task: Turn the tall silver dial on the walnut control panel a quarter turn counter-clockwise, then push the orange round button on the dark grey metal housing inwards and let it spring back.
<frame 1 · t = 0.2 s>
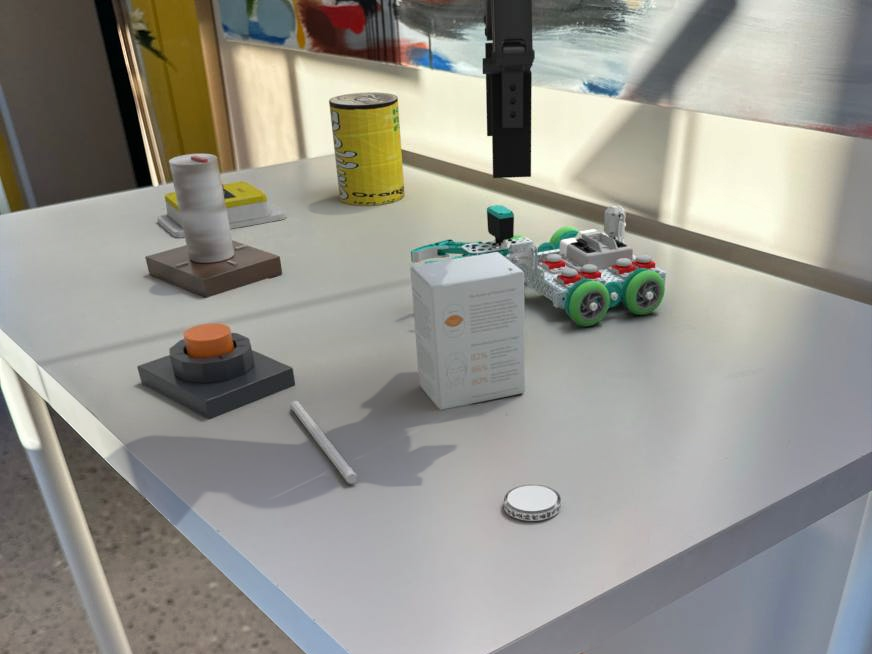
hand: (507, 154, 75), 18 cm above the table, tool pointing down, fingers open, 13 cm apart
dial: (202, 207, 106), point 7 cm above the table, hinge at 0.0°
beverage can: (372, 197, 134), on the table
white flat disc: (532, 508, 69), on the table
dial panel: (215, 274, 110), on the table
button housing: (218, 384, 86), on the table
robot kit: (538, 303, 101), on the table
white rod: (320, 444, 77), on the table
push knob: (209, 341, 84), point 4 cm above the table, slide at 0.1 cm
small box: (471, 392, 84), on the table
yellow box on plate: (222, 221, 127), on the table
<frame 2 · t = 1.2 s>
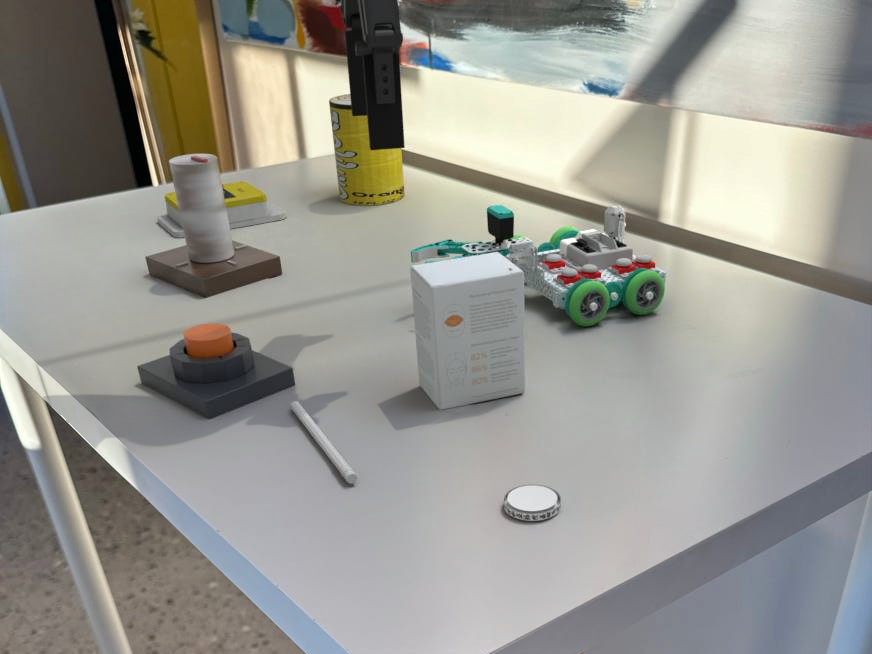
hand: (376, 130, 82), 18 cm above the table, tool pointing down, fingers open, 13 cm apart
nothing on the table moved.
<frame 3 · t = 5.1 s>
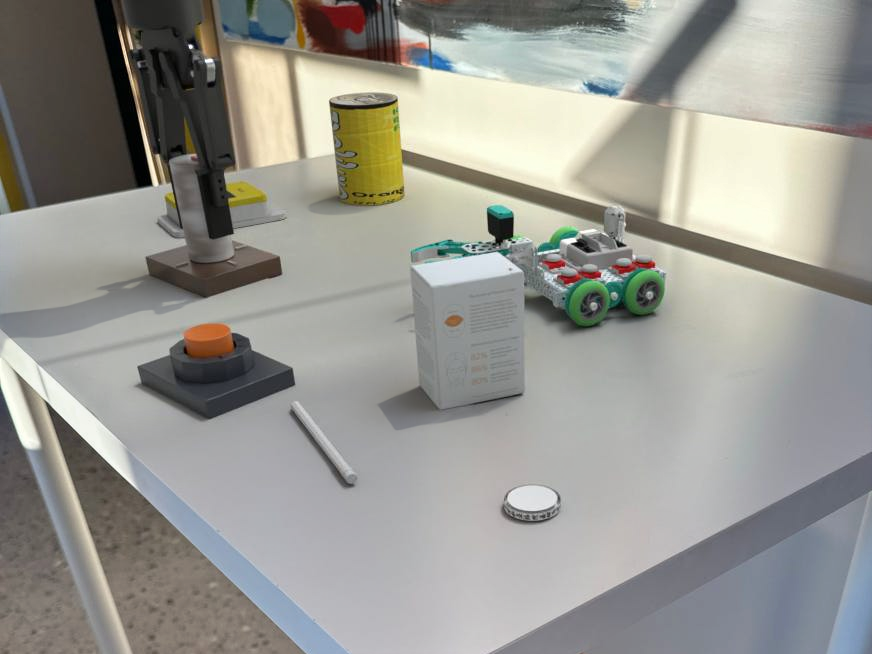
hand: (207, 230, 107), 5 cm above the table, tool pointing down, fingers closed on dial, 5 cm apart
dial: (202, 207, 106), point 7 cm above the table, hinge at -0.1°, touching gripper
everything else where it was.
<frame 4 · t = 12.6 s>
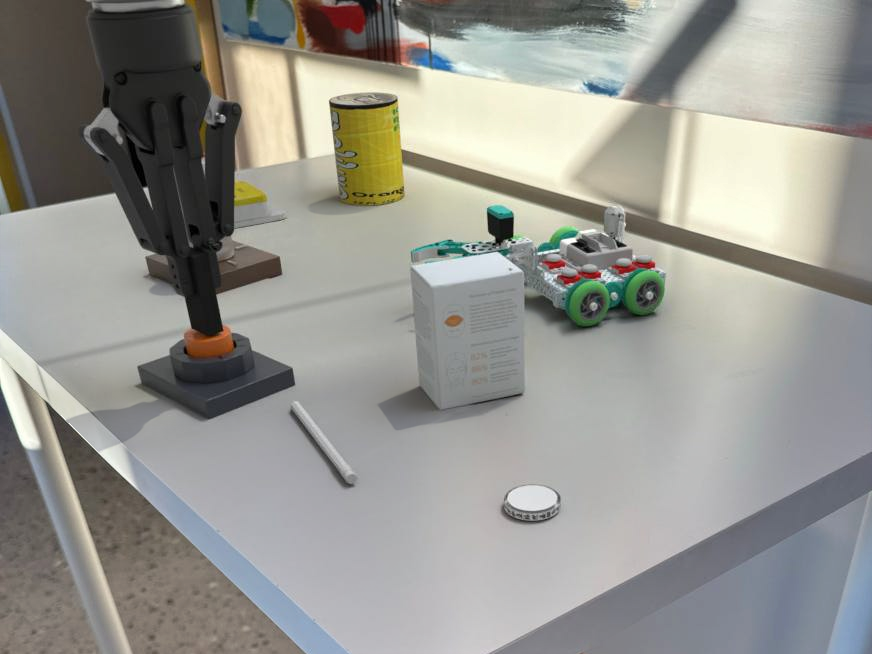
hand: (207, 329, 83), 5 cm above the table, tool pointing down, fingers closed
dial: (202, 207, 106), point 7 cm above the table, hinge at 90.2°
push knob: (209, 342, 84), point 4 cm above the table, slide at 0.0 cm, touching gripper
everything else where it was.
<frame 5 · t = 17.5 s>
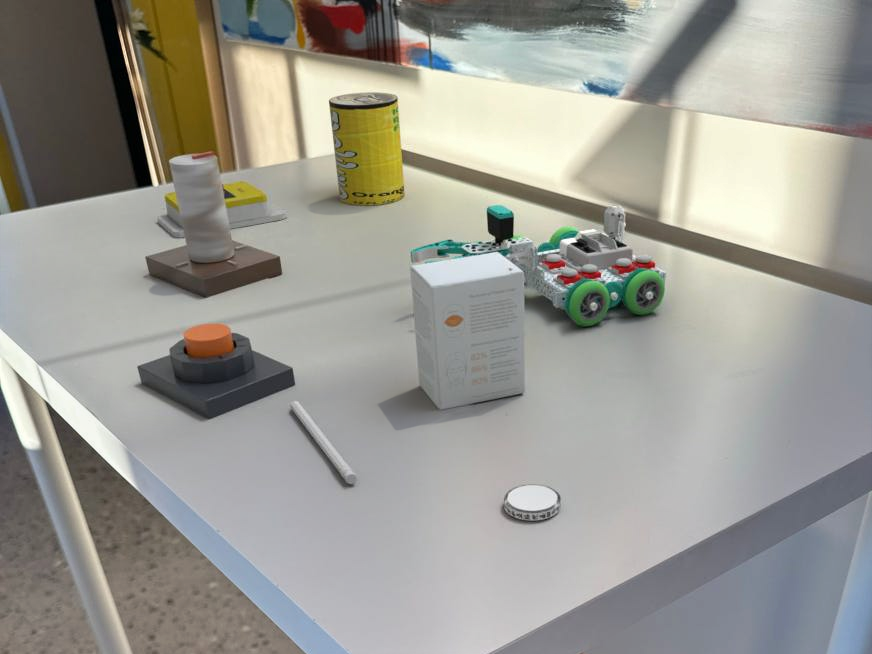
push knob: (209, 341, 84), point 4 cm above the table, slide at 0.1 cm
everything else where it was.
at the end: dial at +90° (first picture: +0°); push knob pushed in 1.0 cm at the most during the clip, back to where it started at the end; push knob slide at 0.1 cm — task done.
